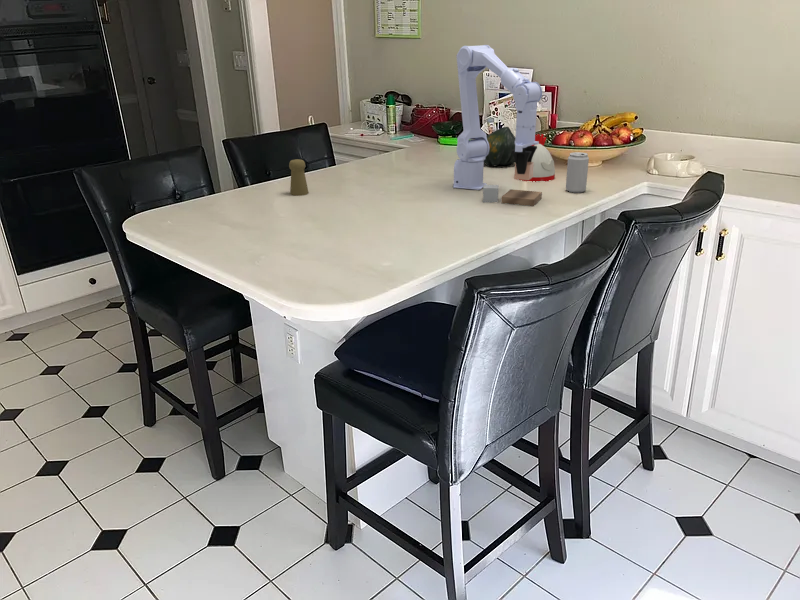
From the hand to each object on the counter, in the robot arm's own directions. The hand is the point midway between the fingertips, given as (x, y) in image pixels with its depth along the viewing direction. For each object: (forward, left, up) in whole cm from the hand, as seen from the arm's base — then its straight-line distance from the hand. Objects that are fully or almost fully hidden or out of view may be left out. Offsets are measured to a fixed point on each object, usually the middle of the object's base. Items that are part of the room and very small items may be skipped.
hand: (523, 172), depth 197 cm
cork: (-70, -16, -9) cm, 72 cm away
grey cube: (-9, -3, -9) cm, 13 cm away
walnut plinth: (0, 0, -9) cm, 9 cm away
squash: (-22, +50, -9) cm, 55 cm away
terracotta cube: (0, 0, -2) cm, 2 cm away
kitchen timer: (-4, +33, -9) cm, 34 cm away
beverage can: (+13, +18, -9) cm, 24 cm away
